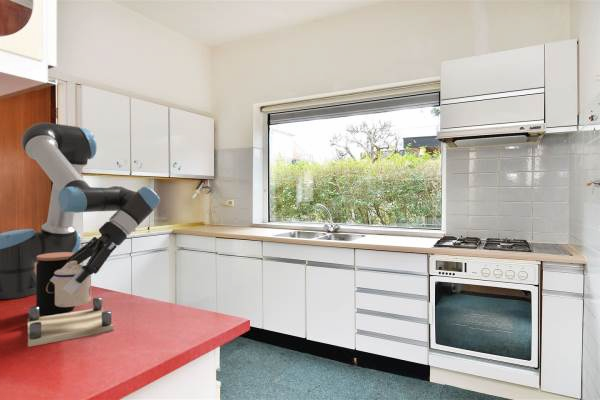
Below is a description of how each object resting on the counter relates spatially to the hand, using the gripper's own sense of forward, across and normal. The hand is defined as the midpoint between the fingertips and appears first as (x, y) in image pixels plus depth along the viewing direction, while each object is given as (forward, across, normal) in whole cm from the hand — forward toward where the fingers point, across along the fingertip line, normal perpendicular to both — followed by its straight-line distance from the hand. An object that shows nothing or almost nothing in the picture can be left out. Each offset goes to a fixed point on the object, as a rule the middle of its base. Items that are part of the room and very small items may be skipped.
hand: (59, 287), depth 101 cm
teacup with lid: (+2, 0, -5) cm, 6 cm away
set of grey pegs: (+6, 0, -9) cm, 11 cm away
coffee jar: (+6, +19, -11) cm, 23 cm away
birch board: (+7, 0, -10) cm, 12 cm away
